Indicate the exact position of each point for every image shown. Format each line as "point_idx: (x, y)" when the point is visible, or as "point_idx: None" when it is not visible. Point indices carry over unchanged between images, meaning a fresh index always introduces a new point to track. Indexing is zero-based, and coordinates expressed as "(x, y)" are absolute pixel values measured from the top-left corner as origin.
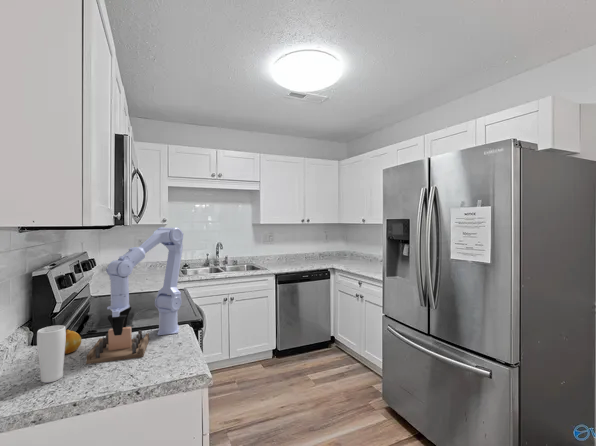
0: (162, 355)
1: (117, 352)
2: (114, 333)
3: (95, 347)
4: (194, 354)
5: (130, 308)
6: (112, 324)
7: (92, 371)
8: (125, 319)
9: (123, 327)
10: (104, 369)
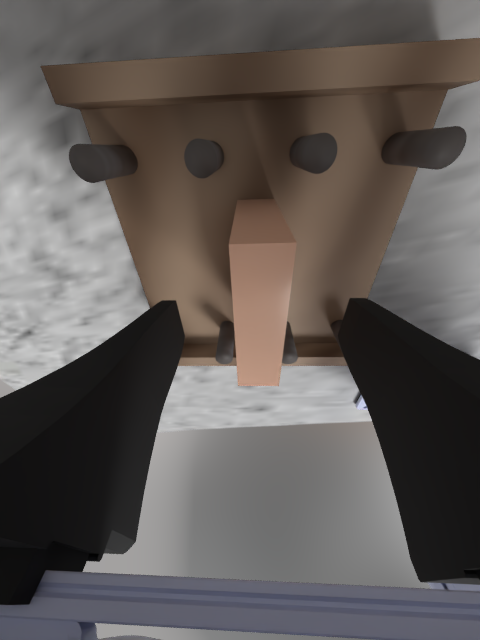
0: (175, 382)
1: (191, 260)
2: (150, 311)
3: (224, 91)
4: (172, 427)
5: (419, 574)
6: (67, 378)
7: (6, 174)
8: (372, 394)
9: (279, 349)
10: (44, 232)
